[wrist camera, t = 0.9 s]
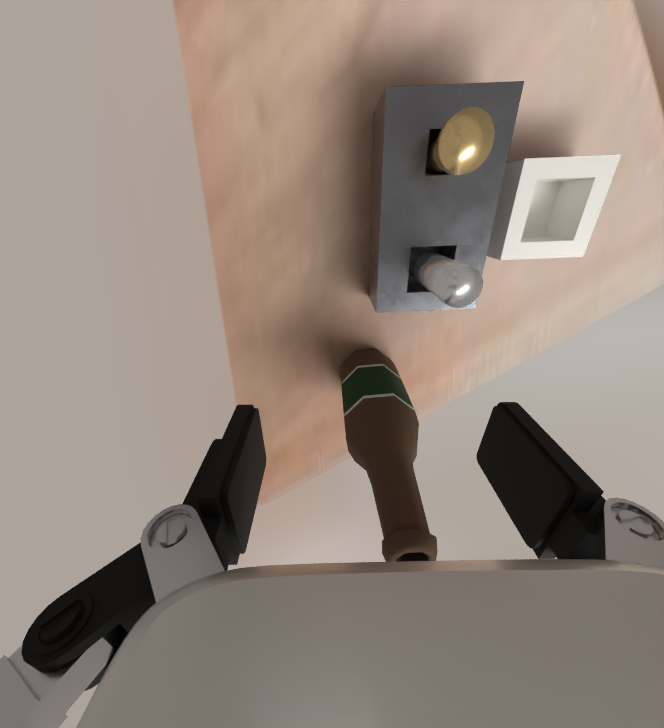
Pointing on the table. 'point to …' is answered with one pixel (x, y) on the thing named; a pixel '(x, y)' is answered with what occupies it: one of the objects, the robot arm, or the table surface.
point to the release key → (461, 143)
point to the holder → (549, 206)
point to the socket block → (431, 187)
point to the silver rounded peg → (445, 277)
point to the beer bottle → (386, 452)
